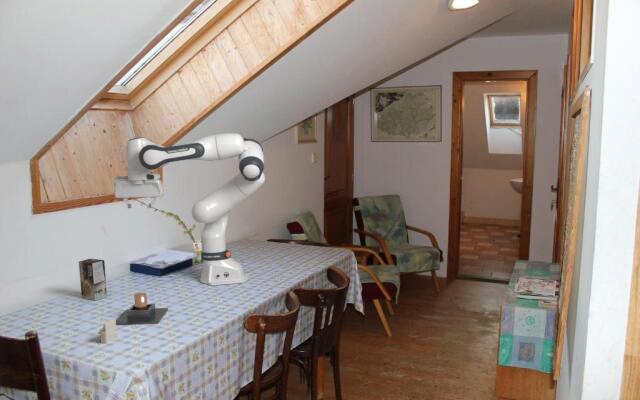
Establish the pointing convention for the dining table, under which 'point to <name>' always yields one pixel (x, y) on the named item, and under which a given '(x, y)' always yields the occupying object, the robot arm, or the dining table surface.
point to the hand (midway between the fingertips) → (140, 207)
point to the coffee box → (93, 279)
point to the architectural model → (108, 331)
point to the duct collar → (142, 316)
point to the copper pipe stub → (140, 301)
